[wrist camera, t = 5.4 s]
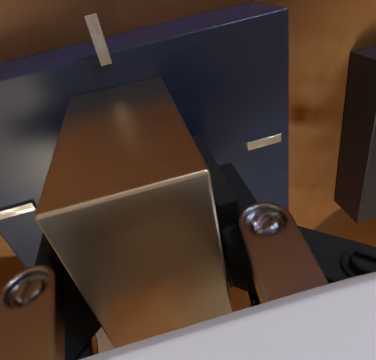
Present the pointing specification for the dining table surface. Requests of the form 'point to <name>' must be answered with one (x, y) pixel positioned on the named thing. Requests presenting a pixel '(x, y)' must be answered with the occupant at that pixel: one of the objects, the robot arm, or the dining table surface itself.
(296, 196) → the dining table surface
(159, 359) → the robot arm
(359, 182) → the button box
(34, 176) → the handle panel
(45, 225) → the handle
